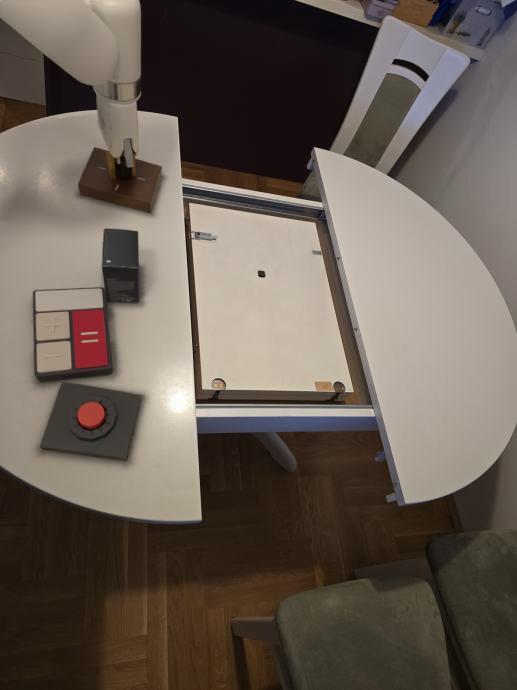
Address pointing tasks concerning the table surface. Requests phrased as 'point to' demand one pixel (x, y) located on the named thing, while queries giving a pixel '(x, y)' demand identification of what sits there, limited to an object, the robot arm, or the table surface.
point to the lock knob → (112, 165)
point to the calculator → (71, 334)
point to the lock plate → (120, 183)
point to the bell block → (102, 440)
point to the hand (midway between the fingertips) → (121, 171)
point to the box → (121, 265)
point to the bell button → (91, 415)
